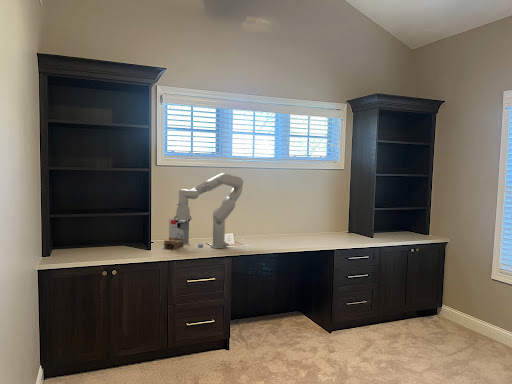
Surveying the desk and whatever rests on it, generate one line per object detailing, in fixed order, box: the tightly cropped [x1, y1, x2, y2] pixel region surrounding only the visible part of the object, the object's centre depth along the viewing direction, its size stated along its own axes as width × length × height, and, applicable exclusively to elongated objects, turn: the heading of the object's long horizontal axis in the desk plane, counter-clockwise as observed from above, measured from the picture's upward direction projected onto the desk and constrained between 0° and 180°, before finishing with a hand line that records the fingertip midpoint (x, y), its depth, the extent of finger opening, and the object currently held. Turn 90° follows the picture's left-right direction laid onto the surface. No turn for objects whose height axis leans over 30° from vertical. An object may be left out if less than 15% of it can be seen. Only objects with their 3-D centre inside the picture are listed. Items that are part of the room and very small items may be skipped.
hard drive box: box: [168, 217, 190, 246], centre depth 318 cm, size 16×8×20 cm, turn 62°
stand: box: [163, 238, 184, 250], centre depth 302 cm, size 10×12×6 cm
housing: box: [177, 221, 188, 230], centre depth 300 cm, size 8×6×6 cm
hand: (182, 227), depth 300 cm, fingers closed on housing, 5 cm apart
